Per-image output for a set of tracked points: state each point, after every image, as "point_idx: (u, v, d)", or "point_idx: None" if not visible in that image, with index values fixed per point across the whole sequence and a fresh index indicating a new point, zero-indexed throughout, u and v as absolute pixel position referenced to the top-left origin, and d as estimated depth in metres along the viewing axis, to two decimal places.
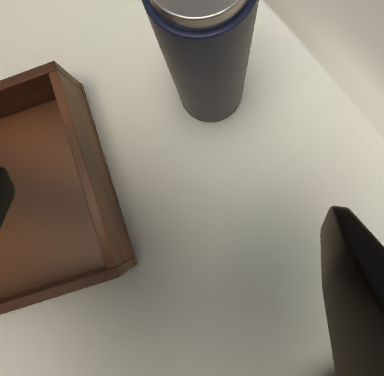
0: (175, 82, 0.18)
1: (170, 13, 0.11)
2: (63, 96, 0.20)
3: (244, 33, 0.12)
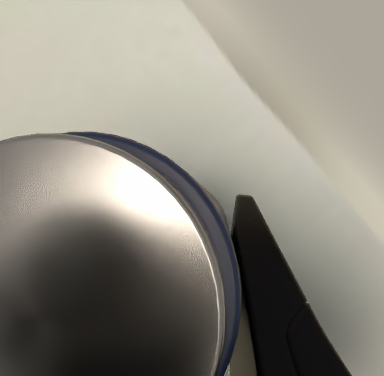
0: None
1: None
2: None
3: None
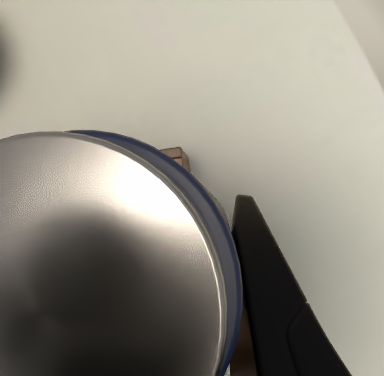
0: None
1: None
2: None
3: None
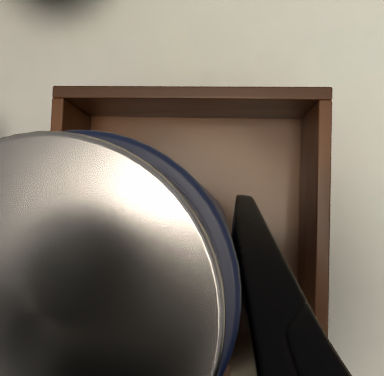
0: None
1: None
2: (330, 136, 0.15)
3: None
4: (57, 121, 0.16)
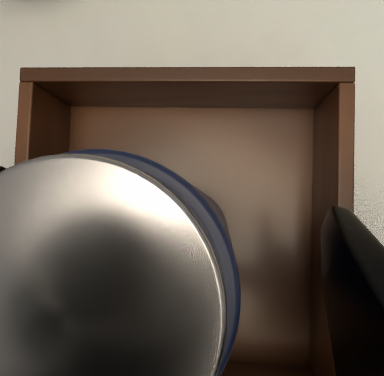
0: None
1: None
2: (353, 126, 0.12)
3: None
4: (25, 109, 0.14)
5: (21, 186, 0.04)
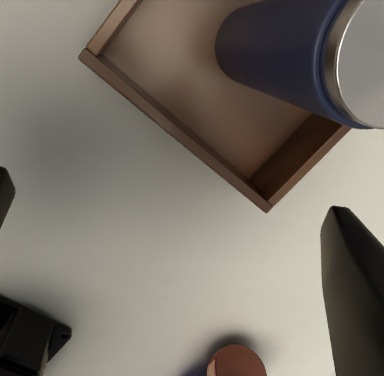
0: (242, 43, 0.14)
1: (337, 85, 0.08)
2: None
3: None
4: None
5: None
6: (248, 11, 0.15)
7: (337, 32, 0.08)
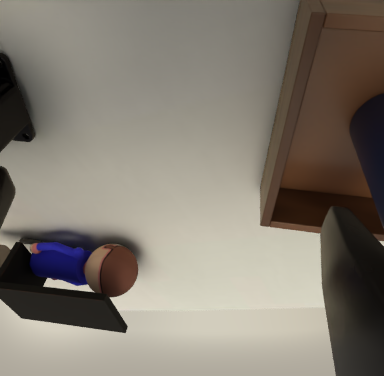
0: None
1: None
2: None
3: None
4: None
5: None
6: None
7: None
